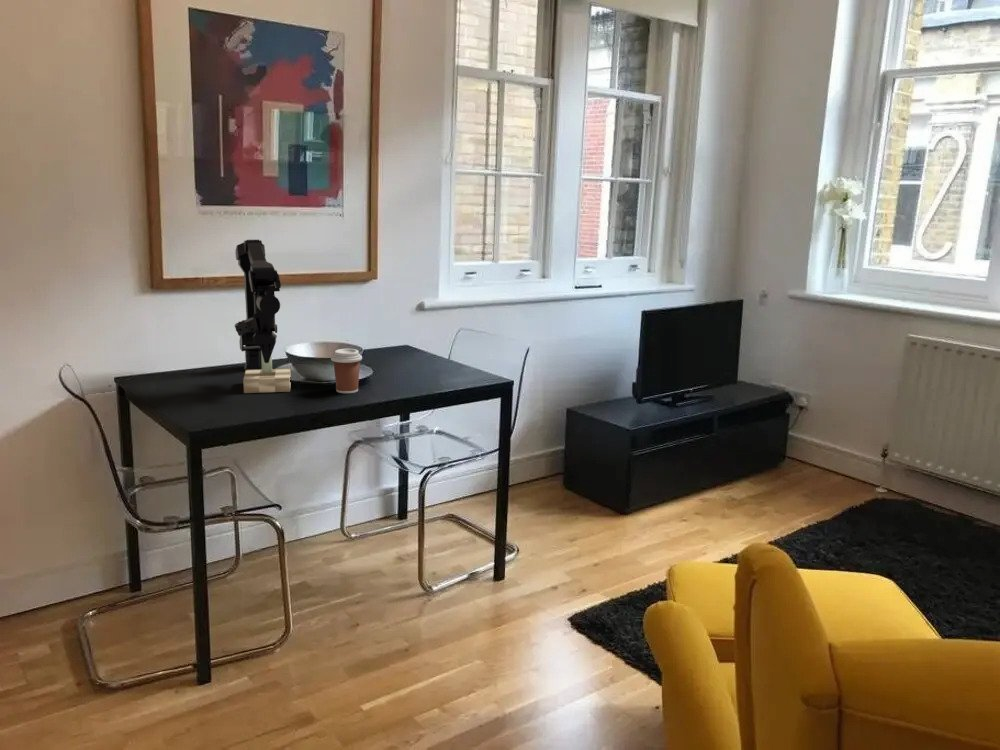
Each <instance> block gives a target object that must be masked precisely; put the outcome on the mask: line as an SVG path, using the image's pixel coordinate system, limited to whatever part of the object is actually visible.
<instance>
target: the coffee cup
mask: <svg viewBox="0 0 1000 750" xmlns="http://www.w3.org/2000/svg"><path fill="white" fill-rule="evenodd" d="M330 360H331V361H332V362H333V371H334V380H335V390H336V392H337V393H339V394H355V393H357V392H359V384H360V383H359V381H360V369H361V368H360V365H361V361H363V356H362V355H361V354H360V352H359V350H358V349H355V348H339V349H336V350H334V354H333V355H331V356H330Z"/></svg>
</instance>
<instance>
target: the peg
mask: <svg viewBox="0 0 1000 750" xmlns="http://www.w3.org/2000/svg"><path fill="white" fill-rule="evenodd" d="M272 355H273V354H271V357H270V360H269V363H265V362H264V359H263V355H262V351H261V361H262V372H264V373H269V372H272V369H273V356H272Z"/></svg>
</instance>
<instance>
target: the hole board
mask: <svg viewBox="0 0 1000 750" xmlns="http://www.w3.org/2000/svg"><path fill="white" fill-rule="evenodd" d="M290 377H291V368H272V372H269V373H264V372H262V369H260V370H245V372H244V376H243V383H242V384H243V394H254V393H255V394H259V393H260V394H261V393H280V392H281V393H282V392H283V393H284V392H285V393H286V392H287V393H288V392H291V383H292V381H291V382H290Z"/></svg>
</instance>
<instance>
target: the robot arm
mask: <svg viewBox="0 0 1000 750" xmlns="http://www.w3.org/2000/svg"><path fill="white" fill-rule="evenodd" d="M265 247H266V246H265V244H263V242H262V239H261V240H260V239H246V240H243V242H242V243H240V244H237V245H236V247H235V260H236V261H237V265H238V266H239V268H240V269H241V271H242V272H243V277H244V278H243V279H244V295H245V296H244V297H245V298H244V299H245V313H246V315H245V318H246V319H243V320H241V321H238V322H236V323H235V324H234V328H235V332H236V333H237V335H238V336H239V349H240V351H241V352H244V353H245V354H244V355H245V357H244V358H245V364H244V368H243V370H244V371H246V370H260V369H262V361H261V351H262V355H263V359H264V362H265V363H269V360H270V357H271V354H272V353H274V349H275V345H276V343H277V334H278V325H277V324H276V314H277V313H278V312H279V311H280V308H281V302H280V300H279V298H277V296H276V295H275V292H280V291H281V287H282V284H281V279H280V274H279V273H278V271H277V269H275V267H274V265H273V263H271V262H269V261H267V259H266V250H265V249H266V248H265ZM272 355H273V354H272Z"/></svg>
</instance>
